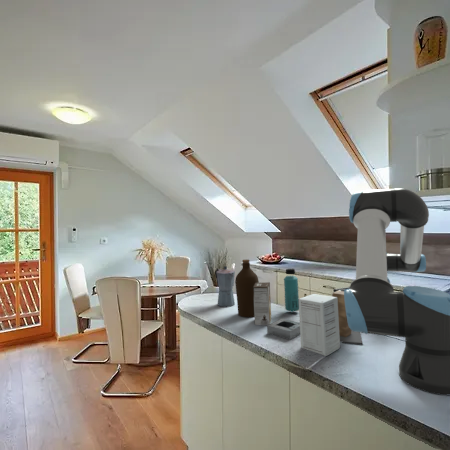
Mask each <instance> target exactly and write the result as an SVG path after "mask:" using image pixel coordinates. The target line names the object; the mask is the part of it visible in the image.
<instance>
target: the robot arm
mask: <svg viewBox="0 0 450 450" xmlns="http://www.w3.org/2000/svg"><path fill="white" fill-rule="evenodd" d="M429 211H430V210H429V208H428V206H427V203H426V202H425V201H424V199H423V198H422V197H421V196H419V195H418V193H415V192H414V191H412V190H411V189H406V188H403V187H401V188H400V187H395V188H387V189H384V188H383V189H366V190H363V189H362V190H361V191H360V190H359V191H355V192H353V193H352V194H351V197H350V200H349V209H348V219H349V221H350V223H351V224H353V225H354V227H355V228H356V230H357V239H356V261H355V262H356V263H355V264H356V266H355V271H356V272H355V279H354V280H353V281H351V283H350V285H349V286H345V287H339V288H333V290H332V291H333V293H334V292H336V291H344V300H345V309H346V316H347V322H348V326H349V328H350V329H351V330H352V331H355V332H360V333H363V334H366V335H367V334H370V335H377V336H379V335H380V336H386V337H387V336H389V337H396V338H397V337H399V338H404V339H405V347H404V350H403V353H402V355H401V358H400V361H399V363H398V374H399V375H398V376H399V377H400V378H401V380H402V381H404V383H406V384H407V385H409V386H411V387H414V388H415V389H419V390H421V391H423V392H427V393H431V394H435V395H436V394H437V395H442V396H450V293H449V292H446V291H442V290H440V289H436V288H432V287H426V286H420V285H406V286H404V287H403V289H402V291H395V288H394V286H393V284H391V280H390V278H389V277H388V272H404V273H405V272H407V273H409V272H410V273H424V272H425V271H426V269H427V258H426V255H425V254H423V253H422V250H423V241H424V231H425V230H424V229H425V226H426V225H427V223H428V222H429V216H430V212H429ZM394 222H395V223H397V222H398V223H399V225H400V234H399V235H400V241H399V242H400V246H399V253H388V252H387V239H386V238H387V235H386V233H387V232H386V229H387V228H388V227H390V224H391V223H394ZM331 296H332V297H333V294H332V293H331Z"/></svg>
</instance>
